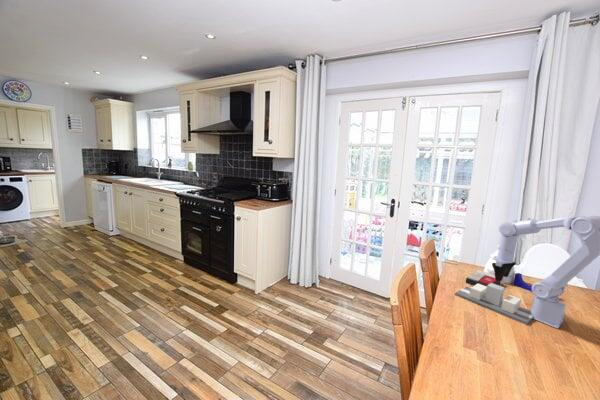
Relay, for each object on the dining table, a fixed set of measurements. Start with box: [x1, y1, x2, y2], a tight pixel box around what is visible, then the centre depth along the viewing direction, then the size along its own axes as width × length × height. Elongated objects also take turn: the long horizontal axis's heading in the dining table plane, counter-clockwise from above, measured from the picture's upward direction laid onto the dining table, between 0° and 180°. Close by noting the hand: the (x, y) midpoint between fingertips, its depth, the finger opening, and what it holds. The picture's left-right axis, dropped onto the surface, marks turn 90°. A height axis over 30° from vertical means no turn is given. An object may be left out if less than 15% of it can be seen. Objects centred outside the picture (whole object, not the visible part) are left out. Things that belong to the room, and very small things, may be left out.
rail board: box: [454, 286, 533, 326], centre depth 116 cm, size 26×12×1 cm, turn 37°
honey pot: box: [483, 244, 516, 284], centre depth 142 cm, size 13×13×18 cm
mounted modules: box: [469, 284, 522, 314], centre depth 115 cm, size 16×8×4 cm, turn 37°
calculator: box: [465, 269, 501, 287], centre depth 136 cm, size 11×4×15 cm
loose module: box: [485, 283, 505, 306], centre depth 115 cm, size 5×4×7 cm
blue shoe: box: [512, 272, 533, 293], centre depth 132 cm, size 12×4×6 cm, turn 27°
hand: (501, 278), depth 120 cm, fingers open, 7 cm apart
